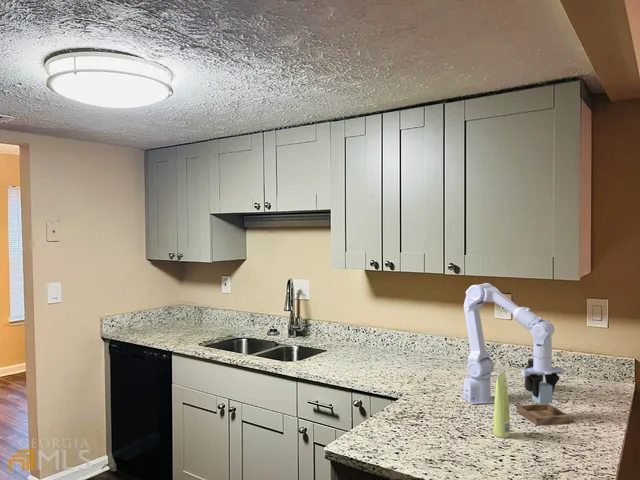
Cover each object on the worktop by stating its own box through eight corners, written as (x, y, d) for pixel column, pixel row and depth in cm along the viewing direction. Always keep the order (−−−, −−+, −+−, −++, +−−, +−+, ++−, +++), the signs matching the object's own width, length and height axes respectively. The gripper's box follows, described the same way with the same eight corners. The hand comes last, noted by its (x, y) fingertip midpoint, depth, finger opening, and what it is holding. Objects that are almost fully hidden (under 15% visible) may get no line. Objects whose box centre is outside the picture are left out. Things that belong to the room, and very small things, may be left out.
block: (540, 403, 165) (540, 386, 165) (532, 399, 169) (532, 382, 169) (552, 403, 165) (552, 385, 165) (544, 398, 170) (544, 381, 170)
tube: (489, 431, 156) (489, 370, 156) (504, 430, 156) (504, 370, 156) (497, 438, 150) (497, 376, 150) (513, 438, 151) (513, 375, 150)
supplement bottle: (532, 393, 192) (532, 362, 192) (521, 387, 198) (521, 358, 198) (547, 391, 194) (547, 361, 193) (535, 386, 200) (535, 357, 200)
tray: (536, 425, 160) (536, 418, 160) (516, 411, 172) (516, 405, 172) (569, 422, 162) (569, 416, 162) (547, 409, 174) (547, 403, 174)
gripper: (529, 360, 162) (529, 401, 162) (569, 358, 164) (569, 398, 164) (517, 355, 169) (517, 393, 169) (556, 353, 171) (556, 391, 171)
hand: (542, 395), depth 167 cm, fingers closed on block, 4 cm apart
